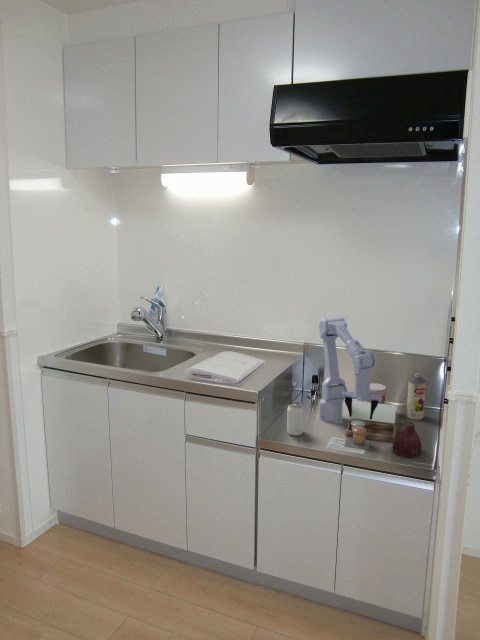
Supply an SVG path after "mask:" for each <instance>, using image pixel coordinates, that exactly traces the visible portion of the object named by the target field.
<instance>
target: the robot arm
mask: <svg viewBox="0 0 480 640" xmlns="http://www.w3.org/2000/svg"><path fill="white" fill-rule="evenodd" d="M347 323H348V322H347V321H346V319H345V318H344V317H341V316H340V317H333V318H322V319H321V320H320V321H319V325H318V329H319V336H320V337H319V338H320V339H322V343H323V351H324V352H323V353H324V362H325V371H326V378H325V379H324V380H323V381H322V383H321V392H320V393H321V397H322V398H320V402H319V422H326V423H334V424H342V423H343V421H344V417H345V416H344V415H343V408H344V407H343V404H344V403H345V405H346V407H347V411H348V416H349V418H351V416H352V407H353V400H357V401H365V400H368V401H371V413H370V419H372V416H373V413H374V411H375V409H376V407H377V405H378V402H380V403H381V399H382V396H378V395H374V394H370V383H371V377H372V376H371V375H372V368H374V367H375V362H376V361H375V357H374V355H373V353H372V352H370V351H367V350H365V348H364V347H363V345H362V344H361V343H360V342H359V340H357V339H354V338H353V337H352V335H351V333H350V332H349V330H348V324H347ZM337 338H339V339H340V340H341V341H342V342H343V344H344V345H345V347H344V348H345V351H346V352H347V353H348V355H349V356H350V358H351V359H352V365H353V372H354V387H353V388H354V389H353V390H354V391H348V387H347V385H346V381H345V380H344V379H342V378H341V377H340V370H339V361H338V355H337V353H338V352H337V345H336V340H337ZM343 402H344V403H343Z"/></svg>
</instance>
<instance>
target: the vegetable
mask: <svg viewBox="0 0 480 640" xmlns="http://www.w3.org/2000/svg"><path fill="white" fill-rule="evenodd" d="M392 443H393V445H392V453H393V454H395V456H399V457H402V458H407V459H414V458H418V457H420V456H421V454H422V443H421V439H420V437H419V435H418V433H417V431H416V428H415V424H414V423H413V422H411V421H409V422H408V423H406V424H405V425H403V426H402V427H400V429H398V431H397V432H396V434H395V440H394V442H392Z"/></svg>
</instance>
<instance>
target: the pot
mask: <svg viewBox="0 0 480 640" xmlns="http://www.w3.org/2000/svg"><path fill="white" fill-rule="evenodd" d="M352 431H353V437H352V438H353V443H354V444H355V445H364V444H365V433H366V429H365V428H364V427H359V426H357V427H353V428H352Z"/></svg>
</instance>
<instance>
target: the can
mask: <svg viewBox="0 0 480 640" xmlns="http://www.w3.org/2000/svg"><path fill="white" fill-rule="evenodd" d="M286 412H287V413H286V414H287V416H286V417H287V418H286V419H287V420H286V422H287V424H286V425H287V426H286V431H287V434H289V435H290V436H293V437H298V436H302V435H303V433H304V412H305V411H304V407H303V404H302V403H300V402H295V401H294V402H290V403H289V404H288V406H287V410H286Z"/></svg>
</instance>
